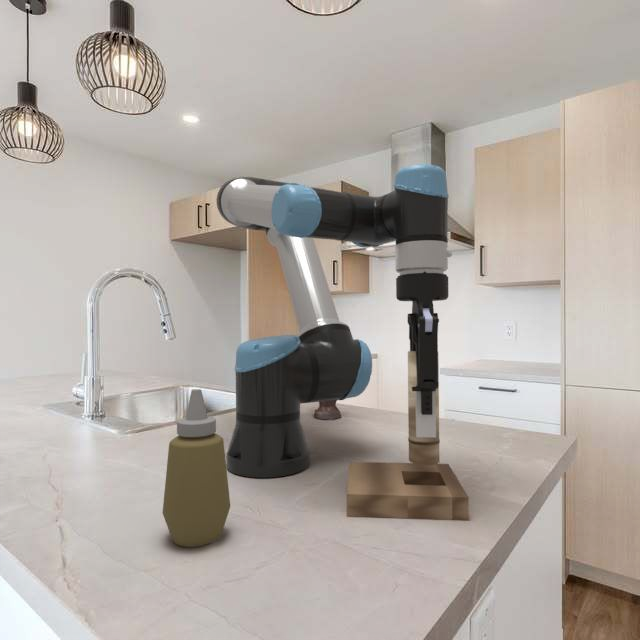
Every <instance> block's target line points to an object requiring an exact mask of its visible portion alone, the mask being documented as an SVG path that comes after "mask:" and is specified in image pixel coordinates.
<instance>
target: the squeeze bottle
mask: <svg viewBox="0 0 640 640" xmlns="http://www.w3.org/2000/svg"><path fill="white" fill-rule="evenodd" d="M205 404H206V403H205V400H204V396H203V391H202V388H201V389H200V388H199V389H195V388H194V389H191V392H190V395H189V401H188V405H187V410H186V414H185V417H182V418H180V419H178V420H177V421H176V434H177V436H175V437H174V438H173V439H171V440H170V441H169V444H168V451H167V452H168V454H167V464H166V471H165V472H166V473H165V483H164V491H163V492H164V494H163V504H162V515H163V518H164V521H165V524H166V527H167V529H168V531H169V534H170V536H171V540H172V541H173V542H174V544H176V545H178V546H180V547H188V548H193V547H194V548H195V547H203V546H205V545H209V544H211V543H213V542H215V541H217V540H218V539H220V537H221V536H222V535H223V531H224V528H225V524H226V522H227V519H228V515H229V512H230V509H231V498H230V489H229V481H228V479H229V478H228V469H227V466H226V452H225V444H224V442H225V441H224V438H223V437H222V435H220V434H218V433H216V431H217V425H216V424H217V423H216V422H217V419H216V418H215V417H213V416H208V414H207V410H206V405H205Z"/></svg>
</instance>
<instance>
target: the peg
mask: <svg viewBox="0 0 640 640" xmlns="http://www.w3.org/2000/svg"><path fill="white" fill-rule="evenodd" d="M439 375H440V374H439V364H438V383H439V384H440V381H439ZM407 385H408V386H407V393H408V394H407V396H408V397H407V398H408V399H407V401H408V402H407V405H408V406H407V408H408V409H407V410H408V411H407V412H408V414H407V415H408V416H407V417H408V437H407V439H408V440H407V441H408V461H409V463H415V464H419V465H434V464H440V461H441V459H440V440H441V439H440V389H439V386H438V388H437V389H436V437H416V395H415V391H412V387H416V385H417V370H416V351H410V350H409V351H407Z"/></svg>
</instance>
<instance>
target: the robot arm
mask: <svg viewBox="0 0 640 640" xmlns="http://www.w3.org/2000/svg"><path fill="white" fill-rule="evenodd" d="M394 179H395V180H394V184H393V188H394V190H393V191H391V192H388V193H386V194H383V195H381V196H370V195H364V194H357V193H350V192H344V191H337V190H336V191H335V190H332V189H331V190H330V189H325V188H320V187H319V188H318V187H313V186H309V185H306V184H300V183H297V182H291V183H290V182H284V181H278V180H272V179H266V178H259V177H253V176H241V177H235V178H232V179H229V180H227V181H226V182H225V183H223V184H222V185H221V186H220V187H219V190H218V192H217V195H216V199H215V201H216V207H217V210H218V212H219V215H220V216H221V217H222V218H223V219H224V220H225V221H226V222H227V223H229V224H231V225H233V226H235V227H238V228H242V229H248V230H254V231H264V232H265V234H266V238H267V240H268V242H269V244H270V245H271V246H273V247H275V248H276V251H277V253H278V257H279V261H280V265H281V268H282V272H283V276H284V279H285V282H286V286H287V289H288V293H289V297H290V300H291V301H290V302H291V305H292V309H293V312H294V317H295V320H296V323H297V324H296V325H297V327H298V330H299V334H298V335H297V334H282V335H272V336H265V337H264V336H263V337H258V338H254V339H249V340H246V341H244V342H241V343H240V344H239V345H238V346H237V348H236V354H235V365H234V372H235V425H234V430H233V433H232V434H231V435H232V436H231V439H230V441H229V445H228V448H227V451H226V455H225V460H226V469H227V471H229V472H231V473H233V474H235V475H238V476H242V477H246V478H247V477H248V478H277V477H284V476H285V477H286V476H289V475H290V476H291V475H293V474H297V473H300V472H302V471H304V470H306V469H307V468H308V467H309V466H310V463H311V462H310V461H311V460H310V459H311V457H310V454H311V453H310V448H309V445H308V441H307V439H306V435H305V433H304V430H303V426H302V424H301V404H309V403H310V404H311V403H319V402H321V401H330V400H337V401H344V400H346V399H351V398H356V397H358V396H360V395H361V394H363V393H364V392H365V391H366V389H367V388H368V386H369V383H370V381H371V377H372V371H373V358H372V353H371V350H370V348H369V346H368V344H367V343H366V342H365V341H363V340H360V339H358V338H357V339H354V338H353V335H352V331H351V328H350V327H349V325H348V324H347V323H345V322H341V321H340V318H339V315H338V312H337V308H336V306H335V303H334V300H333V296H332V293H331V290H330V288H329V283H328V280H327V277H326V274H325V271H324V269H323V265H322V262H321V258H320V256H319V252H318V248H317V246H316V243H315V240H314V239H317V240H318V239H321V240H334V241H340V242H349V243H353V244H354V245H355V246H357V247H359V248H371V247H372V248H375V247H380V246H382V245H385V244H389V243H393V242H395V250H394V251H395V272H397V273H398V274H399V275H398V276H396V279H395V286H396V288H395V290H396V291H395V292H396V294H395V297H396V299H397V300H398V301H399V302H412V306H411V312H410V313H407V324H408V339H409V351H416V370H417V385H416V387H412V391H415V395H416V437H436V389H437V388H438V386H439V385H440V382H439V383H438V365H439V350H438V346H439V345H438V341H439V339H438V336H439V335H438V334H439V322H440V319H439V313H438V312H435V311H434V310H435V309H434V303H433V302H438V301H440V302H441V301H446V300H448V298H449V276H447V274H446V273H445V272H446V271H447V270H448V269H449V268H448V267H449V265H448V263H449V260H448V259H449V258H451V257H452V255H453V252H452V250H448V249H447V248H448V247H449V246H448V243H449V242H448V241H449V238H448V205H449V204H448V203H449V201H448V200H449V197H450V196H449V192H448V182H447V181H448V180H447V174H446V172H445V170H444V169H443V168H442V167H440V166H438V165H434V164H428V163H422V164H421V163H420V164H412V165H407V166H405V167H403V168H400V169H399V170H398V171H397V173H396V174H395V178H394Z"/></svg>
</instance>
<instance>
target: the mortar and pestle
mask: <svg viewBox="0 0 640 640" xmlns="http://www.w3.org/2000/svg"><path fill="white" fill-rule="evenodd" d="M337 401H338V400H330V401H321V402H318V404H319V406H318V407H317V409H315V411H314V413H313V417H314V418H316V419H321V420H328V421H333V420H335V419H339V418H341V417H342V414H341V411H340V410H339V409H340V408H338V406H337V405H336V404H337Z"/></svg>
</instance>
